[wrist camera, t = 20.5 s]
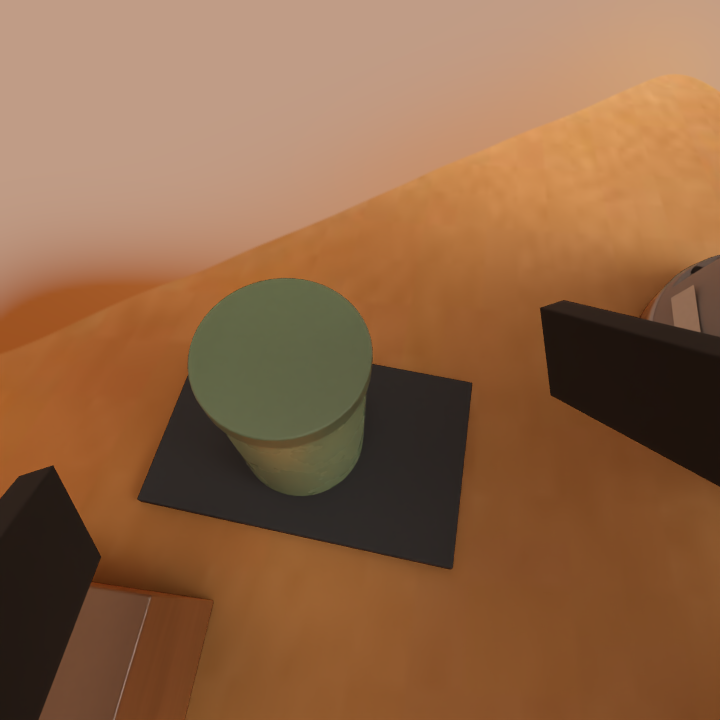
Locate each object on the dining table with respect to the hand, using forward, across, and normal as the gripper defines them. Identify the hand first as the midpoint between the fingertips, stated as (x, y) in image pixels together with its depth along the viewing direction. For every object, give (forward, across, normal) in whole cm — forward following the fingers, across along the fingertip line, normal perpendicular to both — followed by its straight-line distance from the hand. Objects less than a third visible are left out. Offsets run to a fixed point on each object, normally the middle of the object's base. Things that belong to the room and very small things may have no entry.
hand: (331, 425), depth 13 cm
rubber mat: (+12, 0, -6) cm, 14 cm away
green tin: (+12, -1, -6) cm, 14 cm away
